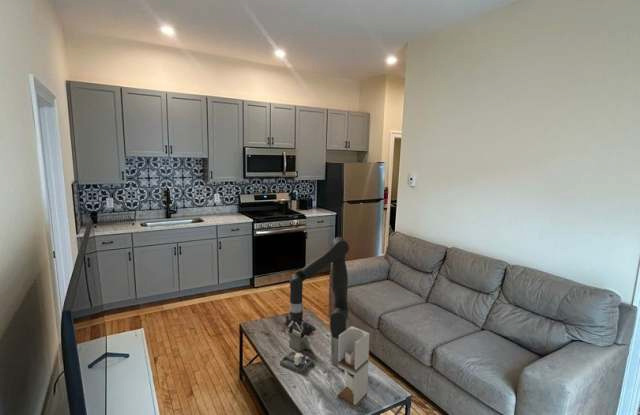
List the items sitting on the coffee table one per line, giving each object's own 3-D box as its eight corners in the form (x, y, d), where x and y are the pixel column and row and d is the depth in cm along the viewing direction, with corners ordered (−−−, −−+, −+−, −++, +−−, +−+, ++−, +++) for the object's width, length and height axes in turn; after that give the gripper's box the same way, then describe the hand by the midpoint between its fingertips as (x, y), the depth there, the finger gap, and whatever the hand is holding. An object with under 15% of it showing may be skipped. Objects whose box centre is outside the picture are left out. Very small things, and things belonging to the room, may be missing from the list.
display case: (350, 386, 179) (351, 325, 173) (367, 395, 173) (369, 333, 167) (337, 398, 171) (338, 335, 164) (354, 408, 164) (356, 343, 158)
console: (314, 362, 199) (314, 357, 198) (302, 374, 189) (302, 368, 188) (292, 354, 207) (292, 348, 206) (280, 364, 197) (279, 359, 196)
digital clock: (311, 349, 212) (311, 334, 210) (299, 355, 206) (299, 339, 204) (296, 338, 224) (296, 323, 222) (285, 343, 219) (285, 328, 217)
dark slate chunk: (299, 318, 252) (299, 312, 251) (317, 330, 235) (317, 324, 234) (282, 324, 243) (282, 318, 242) (298, 337, 226) (298, 331, 225)
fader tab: (301, 361, 196) (301, 353, 195) (297, 365, 192) (297, 357, 191) (298, 360, 197) (298, 352, 196) (294, 364, 194) (294, 356, 193)
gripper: (310, 310, 190) (310, 336, 193) (291, 303, 198) (291, 328, 201) (301, 315, 184) (302, 342, 187) (282, 308, 192) (283, 334, 195)
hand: (296, 335), depth 194 cm, fingers open, 8 cm apart
